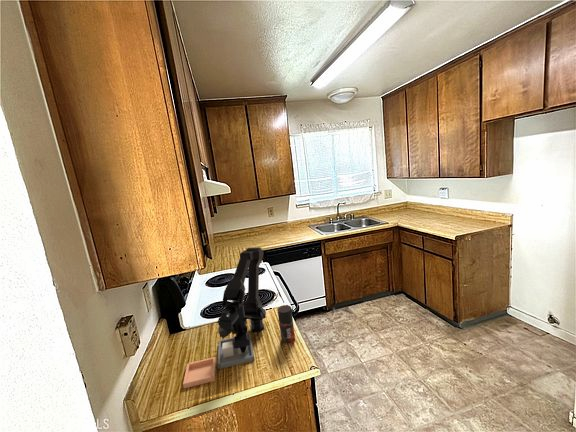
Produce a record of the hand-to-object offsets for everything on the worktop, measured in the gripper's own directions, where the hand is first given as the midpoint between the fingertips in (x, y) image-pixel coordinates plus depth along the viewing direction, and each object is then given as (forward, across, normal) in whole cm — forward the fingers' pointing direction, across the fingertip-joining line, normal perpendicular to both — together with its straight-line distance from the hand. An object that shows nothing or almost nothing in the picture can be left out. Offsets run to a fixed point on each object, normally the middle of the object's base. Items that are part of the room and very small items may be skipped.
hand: (243, 349), depth 114 cm
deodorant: (+1, 0, +20) cm, 20 cm away
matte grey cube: (0, 0, 0) cm, 0 cm away
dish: (+1, +8, -16) cm, 18 cm away
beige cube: (0, 0, -6) cm, 6 cm away
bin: (+1, 0, -3) cm, 3 cm away
